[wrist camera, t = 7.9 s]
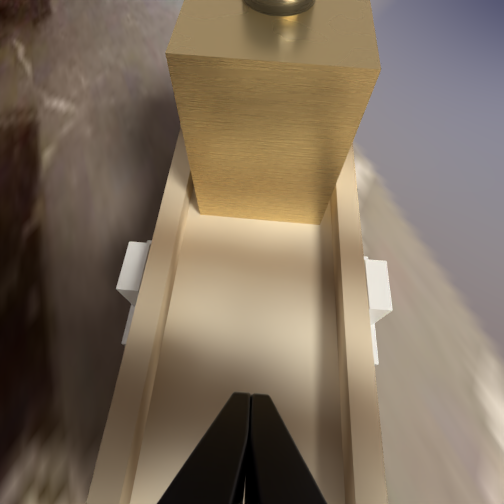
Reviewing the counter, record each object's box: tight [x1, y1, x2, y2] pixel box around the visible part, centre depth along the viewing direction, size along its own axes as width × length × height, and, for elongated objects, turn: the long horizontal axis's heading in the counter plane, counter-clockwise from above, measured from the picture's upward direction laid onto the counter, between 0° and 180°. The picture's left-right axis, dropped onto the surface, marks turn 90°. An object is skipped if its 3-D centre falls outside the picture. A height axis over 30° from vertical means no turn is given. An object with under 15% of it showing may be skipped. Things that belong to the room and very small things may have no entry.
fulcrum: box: [116, 240, 393, 366], centre depth 16 cm, size 6×13×4 cm, turn 86°
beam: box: [86, 127, 388, 504], centre depth 15 cm, size 23×10×3 cm, turn 176°
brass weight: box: [165, 0, 381, 225], centre depth 14 cm, size 7×6×9 cm
